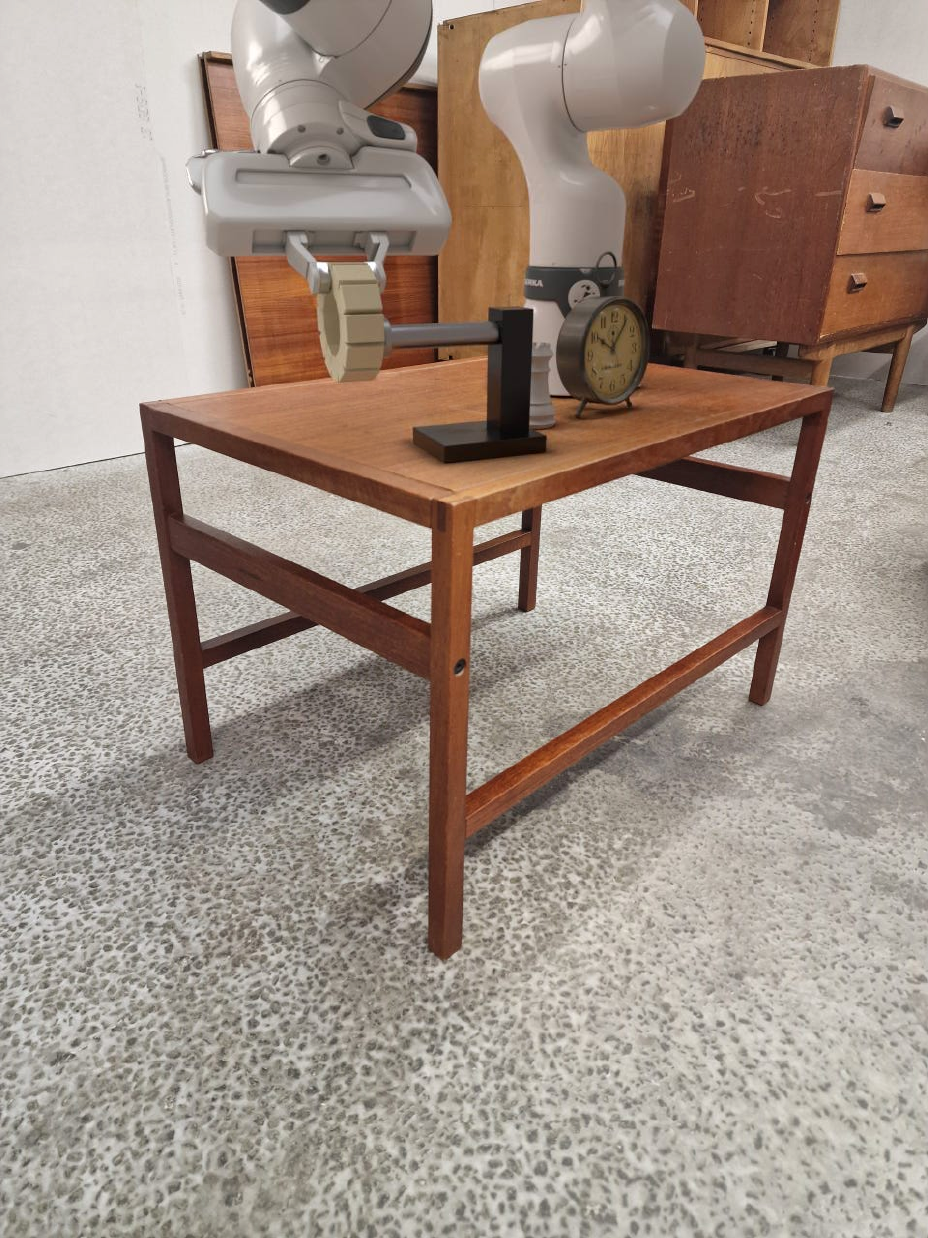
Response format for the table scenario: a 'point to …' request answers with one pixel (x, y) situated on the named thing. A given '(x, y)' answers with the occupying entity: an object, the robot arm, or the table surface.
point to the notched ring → (351, 323)
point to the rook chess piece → (541, 388)
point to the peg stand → (505, 384)
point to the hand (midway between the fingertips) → (350, 288)
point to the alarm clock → (603, 347)
